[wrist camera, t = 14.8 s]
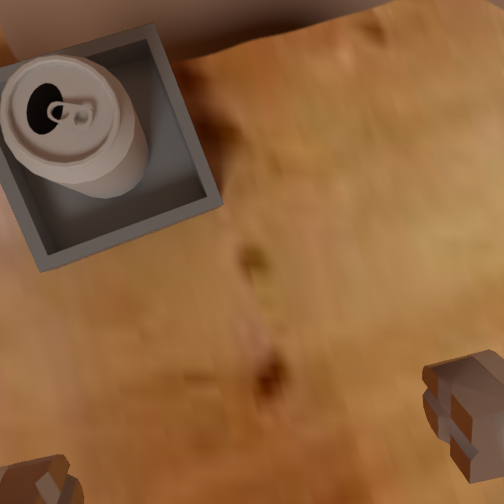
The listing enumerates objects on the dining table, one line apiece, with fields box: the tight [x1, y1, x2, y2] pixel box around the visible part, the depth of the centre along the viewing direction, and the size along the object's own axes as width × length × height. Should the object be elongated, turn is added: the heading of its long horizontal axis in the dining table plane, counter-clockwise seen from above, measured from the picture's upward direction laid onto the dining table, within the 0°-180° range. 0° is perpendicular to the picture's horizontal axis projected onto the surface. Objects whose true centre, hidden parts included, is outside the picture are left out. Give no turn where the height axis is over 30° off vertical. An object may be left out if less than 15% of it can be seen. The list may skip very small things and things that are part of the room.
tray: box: [0, 22, 223, 273], centre depth 32 cm, size 15×15×4 cm
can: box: [0, 54, 149, 199], centre depth 27 cm, size 8×8×12 cm
